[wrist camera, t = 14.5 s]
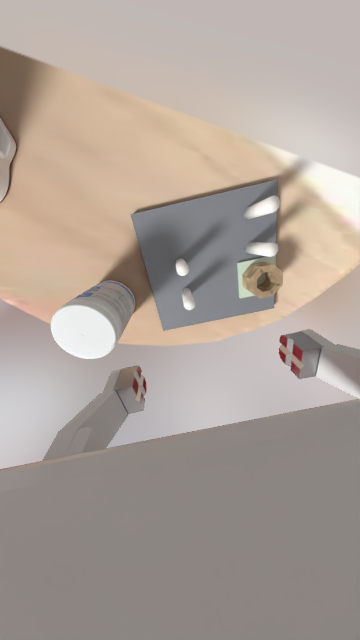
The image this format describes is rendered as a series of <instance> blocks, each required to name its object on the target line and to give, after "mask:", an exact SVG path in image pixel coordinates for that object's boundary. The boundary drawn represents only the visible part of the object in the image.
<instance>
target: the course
mask: <svg viewBox="0 0 360 640" xmlns="http://www.w3.org/2000/svg"><path fill="white" fill-rule="evenodd" d="M277 187H278V179H277V180H273V181H269V182H265V183H260V184H256V185H252V186H248V187H244V188H239V189H235V190H231V191H227V192H223V193H218V194H214V195H210V196H206V197H202V198H197V199H193V200H189V201H185V202H181V203H177V204H172V205H168V206H164V207H160V208H156V209H151V210H147V211H143V212H139V213H135V214H131V218H132V221H133V225H134V228H135V232H136V235H137V239H138V242H139V246H140V250H141V253H142V257H143V260H144V264H145V267H146V271H147V274H148V278H149V281H150V285H151V289H152V292H153V296H154V299H155V303H156V306H157V310H158V313H159V317H160V320H161V324H162V327H163V331H165V330H169V329H174V328H179V327H184V326H189V325H194V324H199V323H204V322H209V321H214V320H218V319H223V318H228V317H233V316H238V315H243V314H248V313H253V312H258V311H263V310H267V309H272V308H274V295H273V296H270V297H265V298H259V297H257V296H250V297H245V298H239V285H238V269H237V263H239V262H243V261H248V260H253V259H257V258H262V257H266V256H268V257H272V256H274V255H276V254H277V252H278V245H277V244H276V222H277V209H278V208H279V206H280V199H279V198H278V197H277Z"/></svg>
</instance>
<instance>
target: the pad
mask: <svg viewBox="0 0 360 640" xmlns="http://www.w3.org/2000/svg"><path fill="white" fill-rule="evenodd" d="M259 262H266V263H271V264H274V265H276V255H274V256H272V257H268V256H266V257H262V258H257V259H253V260H248V261H243V262H239V263H237V269H238V285H239V298H245V297H250V296H255V295H254V294H252V293H251V292H249V291H248V290H247V289H245V288H244V287H243V281H242V274H243V273H244V272H245V271H246V269H247V268H248V267H249V266H250V264H254V263H259ZM265 280H266V272H265V273H262V274H261V276H260V277H259V278H258V279H257V286H260V285H261V284H262V283H263V282H264V281H265Z"/></svg>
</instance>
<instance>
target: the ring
mask: <svg viewBox="0 0 360 640" xmlns="http://www.w3.org/2000/svg"><path fill="white" fill-rule="evenodd" d="M265 272H266V280H265V281H264V282H263V283H262V284H261V285H260V286H257V279H258V278H259V277H260V276H261V274H262V273H265ZM242 281H243V287H244V288H245V289H247V290H248V291H249V292H251V293H252V294H254V295H255V296H257V297H259V298H265V297H270V296H273V295H274V294H275V293H276V292H277V291H278V289H279V288H280V287H281V286H282V284H283V271H282V270H280V269H279V268H278V267H277V266H276V265H274V264H271V263H266V262H259V263H254V264H250V266H249V267H248V268H247V269H246V271H245V272H244V273H243V274H242Z"/></svg>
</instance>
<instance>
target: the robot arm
mask: <svg viewBox="0 0 360 640" xmlns="http://www.w3.org/2000/svg"><path fill="white" fill-rule="evenodd" d="M15 152H16V143H15V141H14V139H13V137H12V136H11V134H10V132H9V131H8V129H7V128H6V126H5V124H4V123H3V121H2V120H1V118H0V202H1V201H2V199H3V198H4V196H5V195H6V192H7V189H8V185H9V167H10V163H11V161H12V159H13V157H14V155H15ZM280 343H281V344H282V345H281V346H280V348H279V355H280V358H281V359H282V361H283V362H284V363H285V364H286V365H288V366H291V371H292V372H293V373H294V374H295V375H296V376H297V377H298V378H299V379H302V378H308V377H314V376H316V377H317V378H319V379H321V380H323V381H325V382H327V383H329V384H331V385H333V386H335V387H337V388H339V389H341V390H343V391H345V392H347V393H349V394H351V395H353V396H355V397H357V398H359V399H356V400H351V401H345V402H340V403H335V404H330V405H325V406H320V407H315V408H309V409H305V410H299V411H295V412H289V413H284V414H279V415H274V416H269V417H264V418H259V419H254V420H249V421H243V422H239V423H233V424H228V425H223V426H218V427H213V428H208V429H202V430H197V431H192V432H187V433H182V434H178V435H172V436H167V437H162V438H157V439H151V440H147V441H141V442H137V443H132V444H126V445H121V446H116V447H111V448H106V447H107V446H108V444H109V443H110V441H111V440H112V438H113V437H114V435H115V434H116V433H117V431H118V430H119V428H120V427H121V425H122V423H123V422H124V421H125V419H126V418H127V416H128V414H131V413H135V412H139V411H143V410H144V403H145V398H144V395H145V394H146V381H145V378H144V376H142V375H141V371H142V370H141V368H140V367H139V366H133V367H127V368H122V369H117V370H113V371H112V372H111V374H110V377H109V379H108V381H107V384H106V386H105V389H104V391H103V393H101V394H99V395H98V396H97V397H96V398H95V399H94V400H93V401H91V402H90V403H89V404H88V405H87V406H86V407H85V408H84V409H83V410H82V411H81V412H80V413H78V414H77V415H76V416H75V417H74V418H73V419H72V420H71V421H70V422H69V423H68V424H67V425H66V426H64V427H63V428H62V429H61V430H60V431H59V432H58V434H57V435H56V437H55V439H54V441H53V443H52V445H51V446H50V448H49V450H48V452H47V453H46V455H45V457H44V459H43V461H40V462H35V463H30V464H25V465H20V466H14V467H10V468H4V469H0V640H360V350H359V349H355V348H351V347H347V346H343V345H339V344H337V345H335V344H333V343H332V342H330V341H328V340H327V339H325V338H324V337H322V336H321V335H319V334H317V333H316V332H314V331H313V330H310V329H307V330H303V331H299V332H295V333H290V334H286V335H281V337H280Z"/></svg>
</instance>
